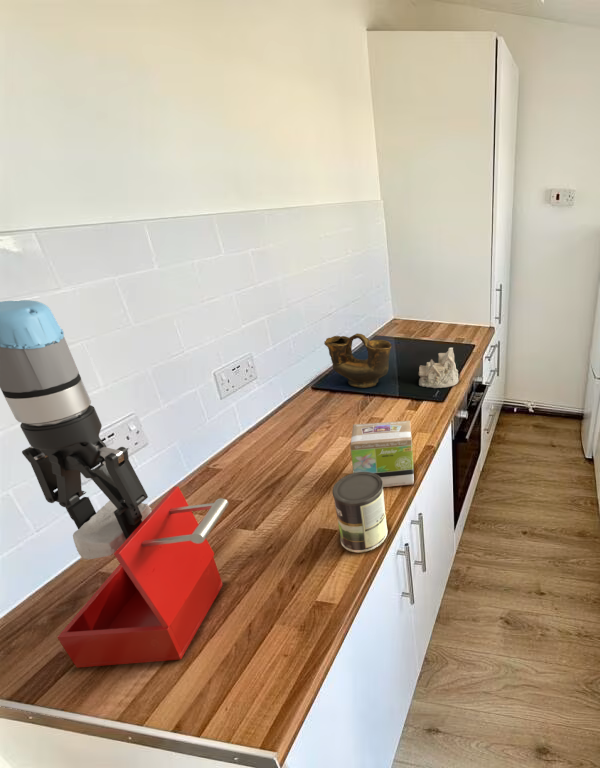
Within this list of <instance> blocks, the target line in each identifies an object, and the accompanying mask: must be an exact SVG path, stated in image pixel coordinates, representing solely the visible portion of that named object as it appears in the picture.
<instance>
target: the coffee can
mask: <svg viewBox="0 0 600 768" xmlns="http://www.w3.org/2000/svg"><path fill="white" fill-rule="evenodd" d="M331 492H332V497H333V500H334V506H335V511H336V512H335V513H336V518H337V525H338V531H339V536H340V544H341V546H342V547H343V548H344V549H345V550H347V551H348V552H352V553H357V554H359V553H366V552H370V551H373V550H374V549H376V548H378V547H379V546H381V545H382V544H383V543H384V542H385V540H386V538H387V536H388V531H389V530H388V526H387V516H386V506H385V504H386V503H385V493H384V487H383V480H382V479H381V477H380V476H378V475H377V474H374V473H370V472H357V473H353V472H352V473H349V474H347V475H344V476H343V477H341V478H340V479H338V481H336V483H334V485H333V487H332V490H331Z"/></svg>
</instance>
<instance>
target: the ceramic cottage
mask: <svg viewBox="0 0 600 768" xmlns="http://www.w3.org/2000/svg"><path fill="white" fill-rule="evenodd" d="M437 355H438V357H437V362H436V361H434V360H433V358H431V359H430V361H427V362H426V365H419V368H418V370H419V371H418V376H419V377H420V378H419V379H418V385H419V386H420V387H426V388H433V389H442V388H450V387H454V386H455V385H457V384H458V383H459V370H458V369H457V366H456V362H455V353H454V347H448V350H447V351H446V352H439V353H437Z"/></svg>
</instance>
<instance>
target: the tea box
mask: <svg viewBox="0 0 600 768" xmlns="http://www.w3.org/2000/svg"><path fill="white" fill-rule="evenodd" d="M411 423H412V422H411V420H398V421H397V420H396V421H384V422H368V423H367V422H366V423H354V424H352V431H351V438H350V445H349V446H350V455H351V465H352V473H357V472H370V473H374V474H377V475H378V476H380V477H381V479H382V480H383V488H386V487H387V488H388V487H389V488H390V487H397V486H411V485H414V482H415V481H414V479H415V477H414V473H415V472H414V453H413V451H414V449H413V435H412V426H411V425H412V424H411Z"/></svg>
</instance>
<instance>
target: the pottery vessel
mask: <svg viewBox="0 0 600 768" xmlns="http://www.w3.org/2000/svg"><path fill="white" fill-rule="evenodd" d="M356 339H359V340H360V341H361V342H362V344H363V345H364V347H365V348H366V351H367V358H365V359H361V358H357V357H355V356H354V355H353V349H352V348H353V341H354V340H356ZM324 345H325V346H326V347H327V349H328V353H329V357H330V361H331V364H332V369H333V371H335V372H336V373H337V374H339V375H340V376H343V377H344V378H346V379H347V384H348V385H350V386H351V387H353V388H360V389H363V388H364V389H365V388H366V389H367V388H372V387H375V386H376V385H377V383H379V379H381V378H383V377H385V376H386V375H388V373H389V369H390V368H389V366H390V364H389V361H390V354H391V350H392V347H393V346H392V343H391V342H390V341H388V340H386V339H371V340H370V339H369V338H368V337H366V335H364V334H363V333H355V334H353V335H352V336H345V335H342V336H341V335H333V336H331V337H327V338H326V339H325V340H324Z"/></svg>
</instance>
